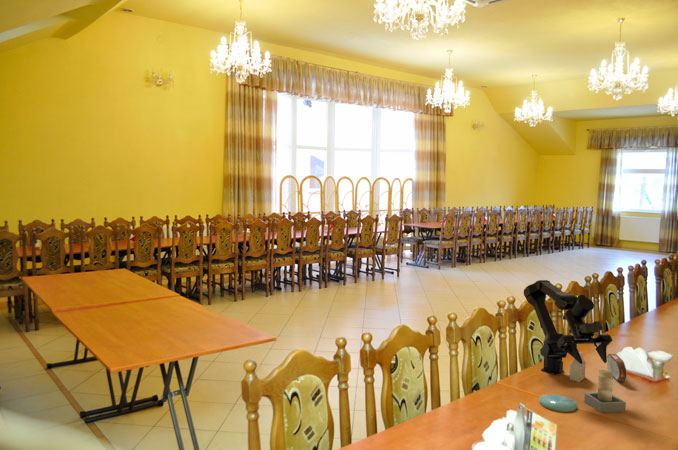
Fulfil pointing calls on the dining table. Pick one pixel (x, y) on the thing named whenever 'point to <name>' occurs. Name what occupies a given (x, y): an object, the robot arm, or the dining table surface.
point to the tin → (616, 367)
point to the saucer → (558, 403)
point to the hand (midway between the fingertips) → (593, 363)
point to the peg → (605, 386)
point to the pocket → (605, 403)
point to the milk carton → (577, 369)
